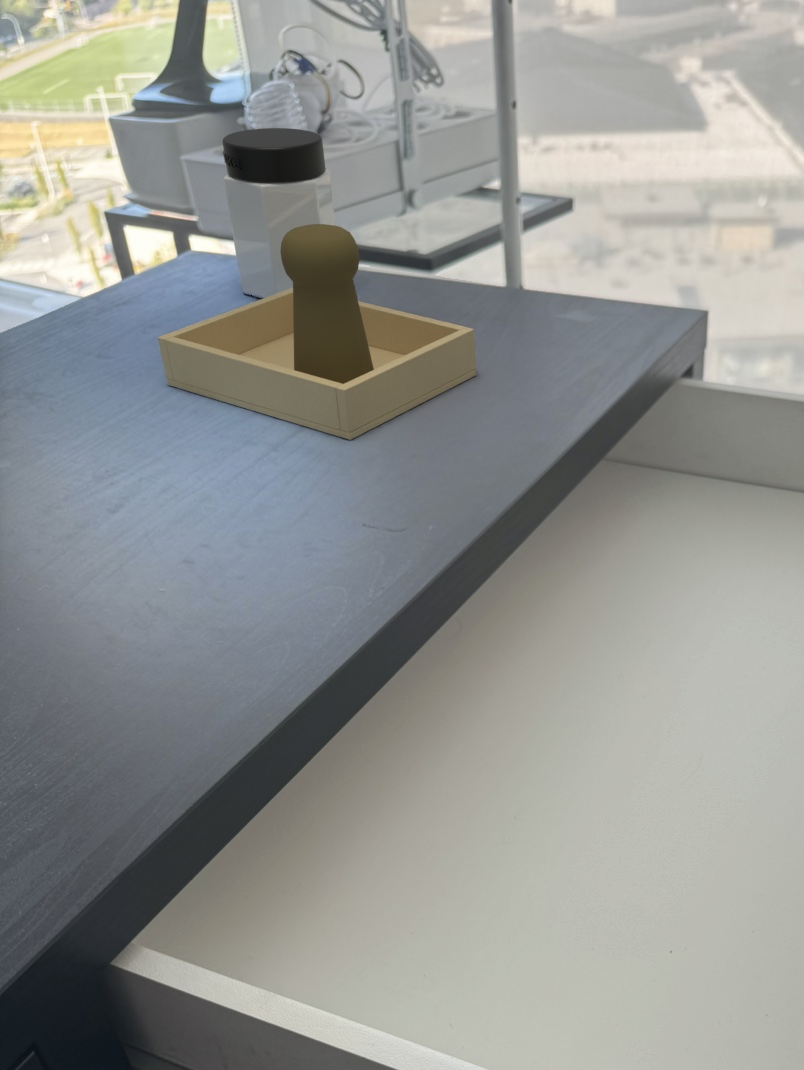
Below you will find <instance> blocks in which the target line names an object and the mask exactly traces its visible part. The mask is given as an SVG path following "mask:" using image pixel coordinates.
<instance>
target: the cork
mask: <svg viewBox="0 0 804 1070" xmlns="http://www.w3.org/2000/svg"><path fill="white" fill-rule="evenodd" d="M280 252H281V259H282V264H283V267H284V269H285V272H286V274H287V275H288V276H289V278H290V279H291V280H292V281H293V326H294V370H295V371H298V372H302V373H306V374H309V375H313V376H316V377H320V378H324V379H327V380H331V381H334V382H338V383H342V384H344V383H347V382H349V381H351V380H353V379H355V378H357V377H360V376H362V375H364V374H366V373H368V372H370V371H372V370H374V368H373V364H372V359H371V355H370V351H369V346H368V342H367V338H366V333H365V329H364V325H363V320H362V316H361V312H360V307H359V303H358V301H359V299H358V295H357V291H356V286H355V282H354V278H355V276H356V274H357V272H358V271H359V266H360V253H359V249H358V245H357V242H356V239H355V237H354V236H353V234H351V232H350V231H349V230H346V229H345V228H343V227H341V226H338V225H336V226H334V225H326V224H311V225H305V226H300V227H296V228H294V229H291V230H290V231H289V232H287V233H286V234H285V235H284V238H283V240H282V242H281V251H280Z"/></svg>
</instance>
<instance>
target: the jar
mask: <svg viewBox="0 0 804 1070" xmlns="http://www.w3.org/2000/svg"><path fill="white" fill-rule="evenodd" d="M222 149H223V151H222V155H223V160H224V164H225V167H226V173H227V174H225V176H224V177H223V183H224V190H225V195H226V196H225V197H226V201H227V208H228V214H229V222H230V227H231V233H232V239H233V245H234V250H235V256H236V257H235V258H236V263H237V264H236V265H237V270H238V276H239V279H240V280H239V283H240V287H241V292H242V293H243V294H244V293H245V294H244V295H248V296H251V295H252V297H254V298H259V299H264V298H266V297H269V296H272V295H275V294H277V293H280V292H283V291H286V290H288V289H291V288H293V281H292V280H291V279H290V278H289V276H288V275H287V274H286V272H285V269H284V267H283V264H282V259H281V252H280V251H281V242H282V240H283V238H284V235H285V234H286V233H287V232H289V231H290V230H291V229H294V228H296V227H300V226H305V225H311V224H326V225H334V226H337V225H336V216H335V208H334V198H333V189H332V179H331V172H330V169H329V168H328V167H326V160H325V152H324V144H323V138H322V136H321V135H320V134H318V133H316V132H314V131H310V130H305V129H298V128H286V127H267V128H266V127H265V128H264V127H263V128H252V129H245V130H240V131H235V132H232V133H229V134H227V135H225V136H224V137H223V138H222Z"/></svg>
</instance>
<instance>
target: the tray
mask: <svg viewBox="0 0 804 1070" xmlns="http://www.w3.org/2000/svg"><path fill="white" fill-rule="evenodd" d="M358 303H359V307H360V312H361V316H362V320H363V325H364V329H365V333H366V338H367V342H368V346H369V351H370V355H371V359H372V364H373V368H374V370H372V371H370V372H368V373H366V374H364V375H362V376H360V377H357V378H355V379H353V380H351V381H349V382H347V383H344V384H342V383H338V382H334V381H331V380H327V379H324V378H320V377H316V376H313V375H309V374H306V373H302V372H298V371H295V370H294V326H293V288H291V289H288V290H286V291H283V292H280V293H277V294H275V295H272V296H269V297H266V298H264V299H262V298H260V299H259V300H256V301H252V302H250V303H248V304H244V305H242V306H239V307H237V308H234V309H231V310H228V311H226V312H223V313H221V314H218V315H214V316H211V317H209V318H206V319H204V320H201V321H198V322H196V323H192V324H190V325H188V326H184V327H181V328H179V329H177V330H174V331H171V332H168V333H165V334H162V335H160V336H158V337H157V342H158V347H159V352H160V355H161V357H160V358H161V361H162V365H163V371H164V375H165V379H166V384H167V386H169V387H174V388H177V389H180V390H183V391H186V392H190V393H192V394H193V393H194V394H196V395H200V396H203V397H206V398H209V399H212V400H215V401H219V402H223V403H226V404H229V405H233V406H236V407H239V408H242V409H245V410H249V411H252V412H256V413H259V414H263V415H266V416H269V417H273V418H276V419H278V420H279V419H280V420H283V421H285V422H289V423H292V424H295V425H299V426H302V427H306V428H308V429H309V428H310V429H313V430H316V431H318V432H323V433H326V434H329V435H333V436H334V437H335V436H336V437H339V438H343V439H346V440H349V441H351V440H353V439H355V438H357V437H359V436H361V435H363V434H365V433H367V432H368V431H371V430H372V429H375V428H376V427H378V426H380V425H382V424H384V423H386V422H389V421H390V420H392V419H394V418H396V417H398V416H400V415H402V414H404V413H406V412H408V411H409V410H411V409H414V408H415V407H418V406H419V405H421V404H424V403H426V402H427V401H429V400H431V399H433V398H435V397H437V396H438V395H440V394H442V393H444V392H447V391H449V390H450V389H452V388H454V387H456V386H458V385H460V384H462V383H464V382H466V381H467V380H470V379H472V378H473V377H475V376H477V369H476V368H477V366H476V344H475V343H476V341H475V329H474V328H471V327H468V326H465V325H460V324H455V323H451V322H447V321H443V320H439V319H436V318H435V319H434V318H431V317H426V316H423V315H417V314H414V313H410V312H406V311H401V310H397V309H393V308H389V307H386V306H385V307H384V306H380V305H377V304H372V303H367V302H364V301H359V300H358Z"/></svg>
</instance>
